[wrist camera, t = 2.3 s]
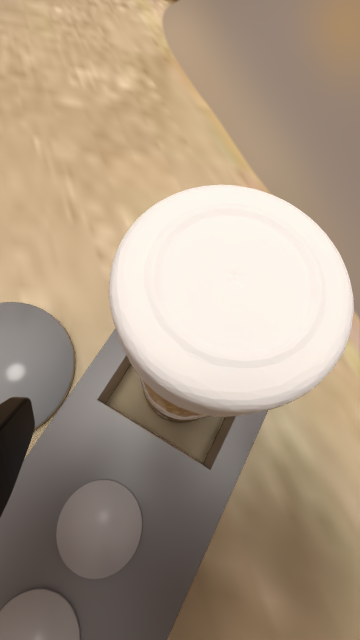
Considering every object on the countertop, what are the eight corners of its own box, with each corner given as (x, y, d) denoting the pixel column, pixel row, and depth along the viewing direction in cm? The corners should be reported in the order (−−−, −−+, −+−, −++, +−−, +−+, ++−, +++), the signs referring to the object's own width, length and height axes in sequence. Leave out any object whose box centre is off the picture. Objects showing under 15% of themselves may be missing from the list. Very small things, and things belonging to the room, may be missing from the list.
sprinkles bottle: (131, 363, 18) (69, 212, 5) (199, 335, 19) (282, 149, 6) (160, 437, 17) (169, 468, 4) (232, 403, 18) (419, 342, 5)
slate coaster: (13, 473, 16) (8, 475, 15) (-103, 395, 17) (-112, 393, 16) (102, 346, 18) (100, 343, 18) (-3, 284, 19) (-7, 280, 19)
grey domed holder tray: (96, 754, 12) (77, 855, 9) (-71, 624, 13) (-134, 678, 10) (281, 350, 19) (304, 336, 16) (159, 283, 20) (160, 259, 17)
